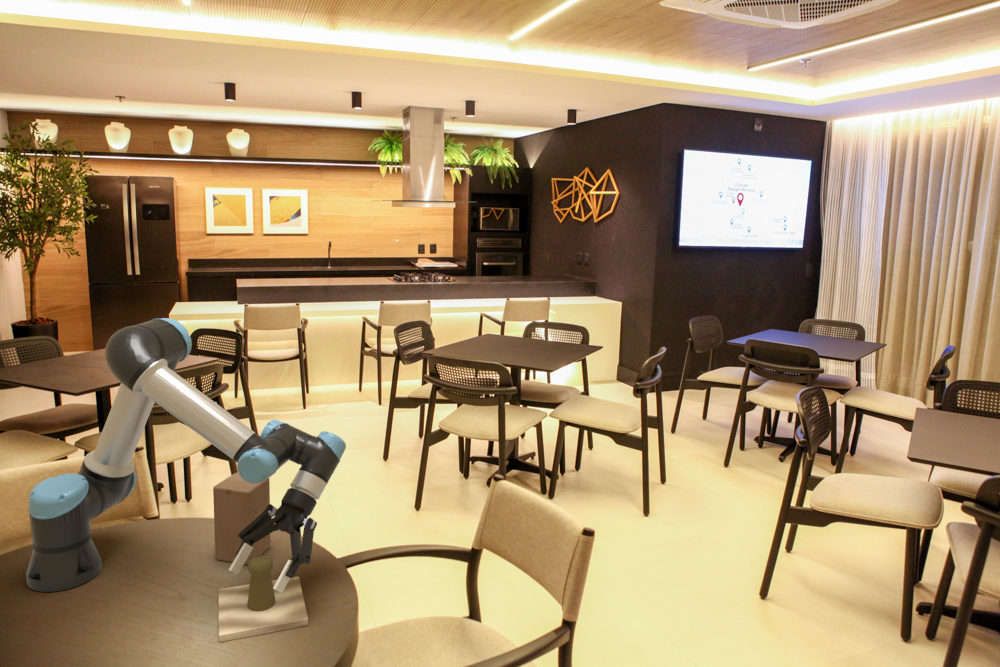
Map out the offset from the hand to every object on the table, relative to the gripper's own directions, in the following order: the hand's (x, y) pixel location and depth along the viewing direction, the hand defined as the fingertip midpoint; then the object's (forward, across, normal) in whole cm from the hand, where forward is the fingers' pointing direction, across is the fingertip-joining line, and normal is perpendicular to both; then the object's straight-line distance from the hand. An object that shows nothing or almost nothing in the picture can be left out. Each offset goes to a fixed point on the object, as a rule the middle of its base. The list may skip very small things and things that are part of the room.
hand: (254, 581), depth 147 cm
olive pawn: (+3, 0, -6) cm, 7 cm away
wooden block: (-6, +23, -18) cm, 29 cm away
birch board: (+4, 0, -7) cm, 8 cm away
